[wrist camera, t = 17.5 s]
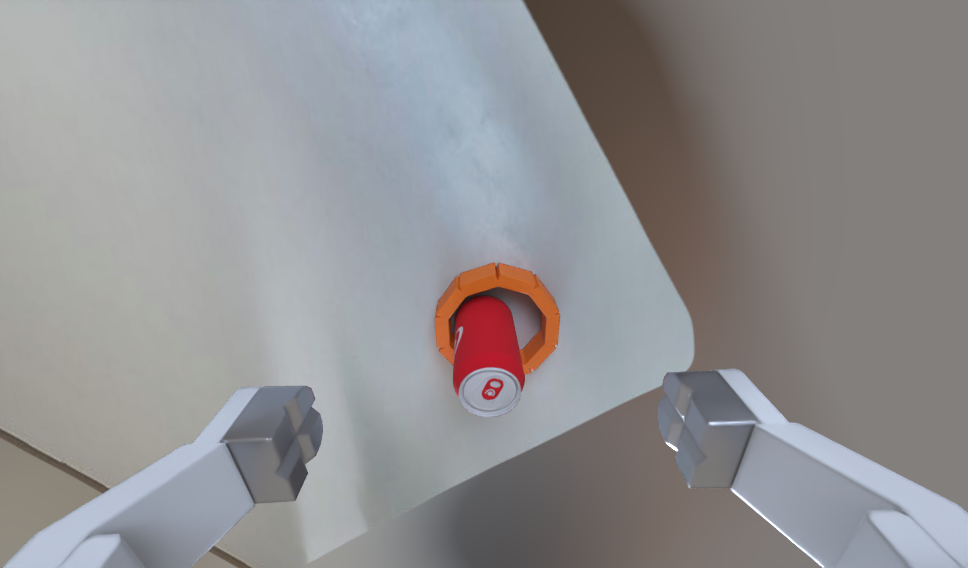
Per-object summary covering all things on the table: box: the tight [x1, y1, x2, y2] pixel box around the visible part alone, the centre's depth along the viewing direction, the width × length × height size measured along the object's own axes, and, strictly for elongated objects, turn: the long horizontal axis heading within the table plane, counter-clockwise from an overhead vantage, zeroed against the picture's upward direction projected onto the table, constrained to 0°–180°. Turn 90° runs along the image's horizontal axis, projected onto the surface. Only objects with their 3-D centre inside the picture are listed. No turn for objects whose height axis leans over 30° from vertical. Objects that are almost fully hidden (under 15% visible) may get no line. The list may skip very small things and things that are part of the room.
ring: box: [435, 263, 560, 375], centre depth 42 cm, size 13×13×3 cm
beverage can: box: [453, 296, 525, 417], centre depth 37 cm, size 6×6×12 cm
